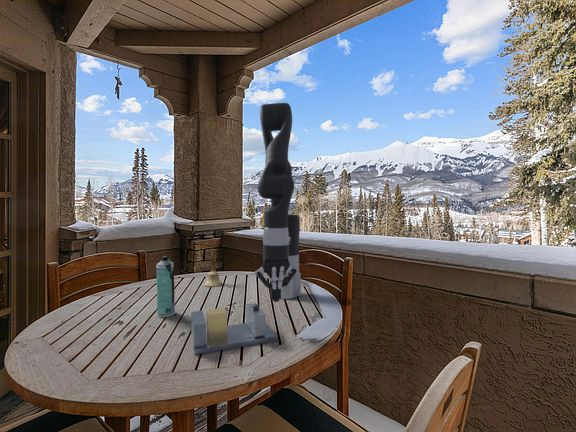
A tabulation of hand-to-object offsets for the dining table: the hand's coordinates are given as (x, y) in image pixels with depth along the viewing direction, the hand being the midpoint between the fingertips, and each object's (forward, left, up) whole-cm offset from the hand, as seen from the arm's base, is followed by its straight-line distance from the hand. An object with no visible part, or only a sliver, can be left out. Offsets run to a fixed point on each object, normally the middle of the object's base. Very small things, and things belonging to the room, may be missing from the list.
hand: (275, 300), depth 90 cm
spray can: (+31, -26, -9) cm, 41 cm away
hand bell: (+11, -58, -9) cm, 60 cm away
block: (+17, 0, -8) cm, 19 cm away
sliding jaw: (+6, 0, -8) cm, 10 cm away
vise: (+13, 0, -9) cm, 16 cm away
